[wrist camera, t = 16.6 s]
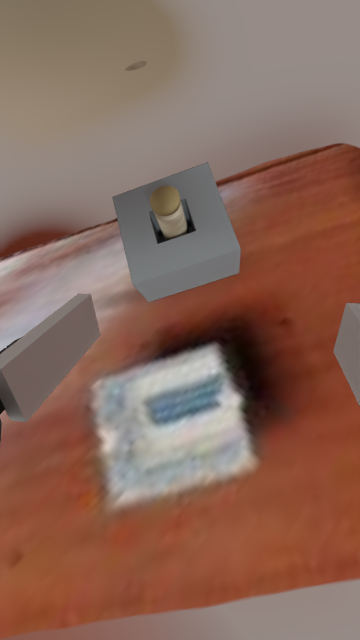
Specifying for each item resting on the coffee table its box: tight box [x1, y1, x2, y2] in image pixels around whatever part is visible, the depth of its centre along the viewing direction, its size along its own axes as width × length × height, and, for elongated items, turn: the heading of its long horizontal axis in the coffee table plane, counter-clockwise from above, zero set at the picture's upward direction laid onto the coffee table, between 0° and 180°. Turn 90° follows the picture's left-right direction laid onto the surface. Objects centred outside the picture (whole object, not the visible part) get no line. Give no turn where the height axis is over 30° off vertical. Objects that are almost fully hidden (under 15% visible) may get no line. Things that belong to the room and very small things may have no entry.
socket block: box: [113, 162, 241, 302], centre depth 44 cm, size 16×16×8 cm
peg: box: [150, 186, 189, 241], centre depth 41 cm, size 4×4×12 cm
